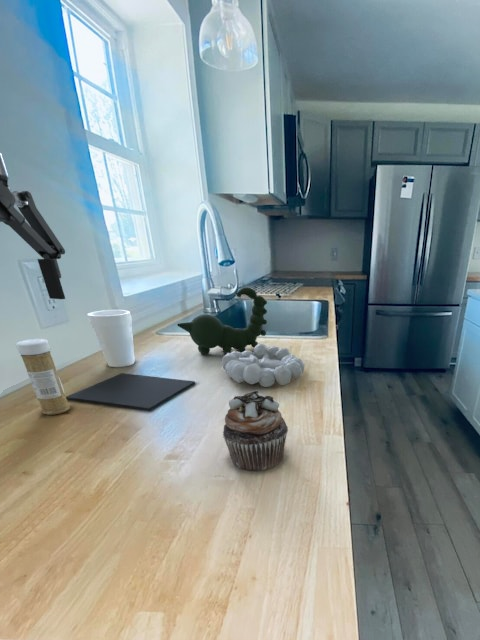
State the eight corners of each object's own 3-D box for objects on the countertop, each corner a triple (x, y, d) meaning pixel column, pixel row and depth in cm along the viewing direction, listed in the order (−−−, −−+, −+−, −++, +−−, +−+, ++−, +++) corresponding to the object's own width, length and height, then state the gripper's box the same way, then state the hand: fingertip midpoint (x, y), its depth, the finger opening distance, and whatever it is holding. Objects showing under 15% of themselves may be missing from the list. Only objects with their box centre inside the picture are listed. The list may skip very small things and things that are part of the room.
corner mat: (66, 399, 75) (65, 396, 75) (122, 375, 89) (121, 373, 89) (149, 411, 71) (149, 408, 71) (195, 383, 85) (195, 381, 84)
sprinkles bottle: (73, 405, 73) (51, 337, 66) (65, 414, 69) (40, 343, 63) (47, 407, 72) (22, 338, 65) (37, 416, 68) (9, 344, 61)
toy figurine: (259, 349, 118) (177, 350, 107) (260, 287, 110) (172, 281, 99) (269, 357, 111) (181, 359, 100) (271, 290, 103) (176, 284, 92)
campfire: (324, 373, 93) (324, 350, 90) (269, 398, 77) (268, 372, 75) (260, 358, 104) (258, 337, 101) (200, 378, 88) (197, 354, 85)
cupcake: (212, 461, 55) (203, 400, 51) (256, 436, 63) (252, 381, 58) (259, 482, 51) (253, 417, 46) (301, 453, 58) (300, 394, 53)
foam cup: (93, 366, 95) (78, 314, 89) (121, 357, 102) (109, 308, 96) (122, 370, 92) (108, 317, 86) (148, 360, 100) (138, 311, 94)
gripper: (-135, 116, 39) (-45, 318, 49) (64, 161, 61) (99, 295, 71) (-182, 120, 41) (-86, 315, 51) (28, 162, 62) (67, 293, 72)
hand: (22, 304), depth 61 cm, fingers open, 13 cm apart
